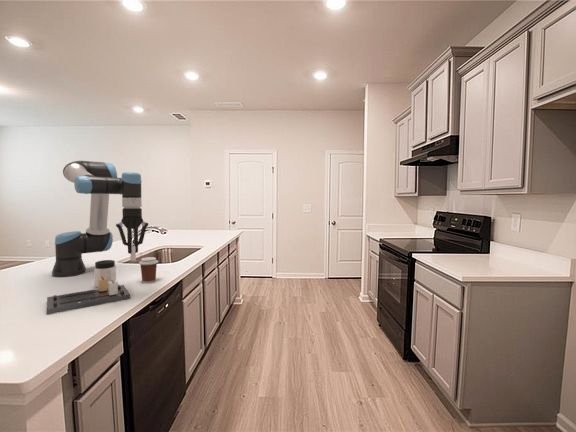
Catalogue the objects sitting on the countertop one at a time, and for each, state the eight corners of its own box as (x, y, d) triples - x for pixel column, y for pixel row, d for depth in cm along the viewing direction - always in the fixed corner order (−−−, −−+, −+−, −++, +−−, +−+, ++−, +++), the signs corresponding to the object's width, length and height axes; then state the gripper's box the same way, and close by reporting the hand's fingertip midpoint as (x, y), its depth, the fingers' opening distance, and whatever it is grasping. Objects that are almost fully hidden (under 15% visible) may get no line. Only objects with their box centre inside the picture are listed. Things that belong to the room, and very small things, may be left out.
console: (47, 301, 119) (47, 294, 119) (123, 289, 137) (123, 282, 137) (46, 314, 107) (46, 306, 107) (130, 298, 125) (130, 292, 124)
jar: (94, 289, 136) (93, 264, 135) (94, 284, 143) (94, 261, 142) (116, 286, 141) (116, 262, 140) (115, 282, 147) (115, 259, 147)
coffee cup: (145, 284, 144) (145, 261, 144) (135, 281, 149) (135, 258, 148) (162, 280, 152) (161, 258, 151) (151, 277, 157) (151, 255, 156)
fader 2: (108, 292, 124) (107, 280, 124) (116, 291, 126) (115, 279, 126) (109, 295, 121) (109, 282, 121) (117, 293, 123) (117, 281, 123)
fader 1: (98, 289, 129) (98, 277, 128) (106, 287, 131) (105, 276, 130) (99, 291, 126) (99, 279, 125) (107, 290, 128) (107, 278, 127)
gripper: (116, 208, 119) (117, 263, 121) (150, 207, 127) (151, 259, 129) (113, 207, 125) (115, 260, 126) (146, 207, 133) (146, 257, 135)
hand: (133, 260), depth 128 cm, fingers closed
